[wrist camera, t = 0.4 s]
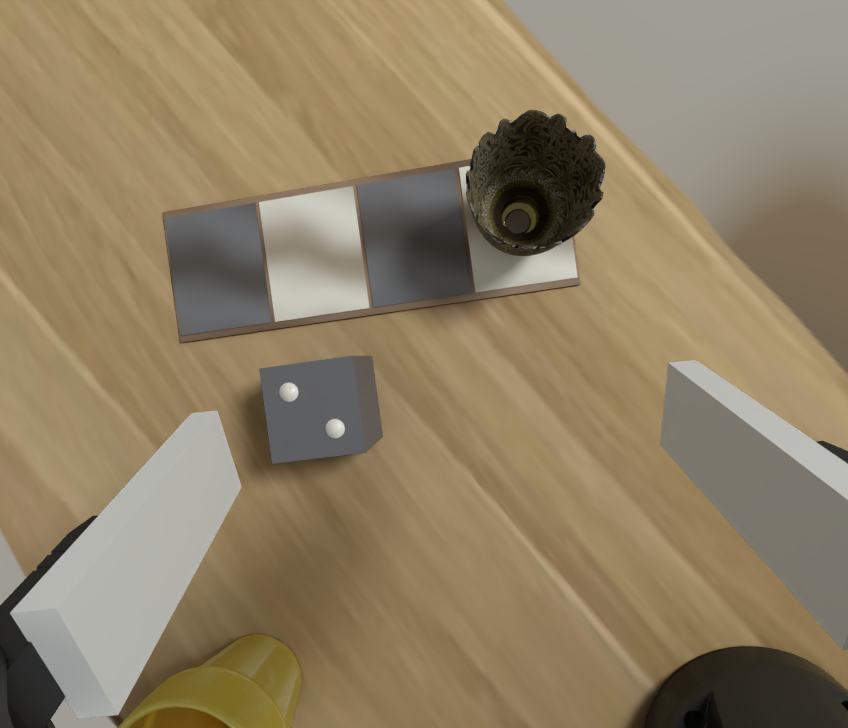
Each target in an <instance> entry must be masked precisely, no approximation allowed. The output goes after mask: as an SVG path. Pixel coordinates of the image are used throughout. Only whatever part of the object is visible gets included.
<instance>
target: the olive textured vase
mask: <svg viewBox="0 0 848 728" xmlns="http://www.w3.org/2000/svg"><path fill="white" fill-rule="evenodd" d="M509 121H510V120H508V119H503V120H501V121H500V123H499V126H498V130H497V132H496V134H495V135H494V134H493V133H491V132H487V133H486V134H484V135H483V136H482V138H481V140H480V141H479V146H477V147H476V148H475V149H474V151H473V155H472V159H471V162H470V170H467V172H466V185H467V190H466V197H467V201H468V204H469V207H470V209H471V212H472V215H473V218H474V221H475V223H476V225H477V227H478V229H479V231H480V233H481V234H482V236H483V237H484V238H485V239H486V240H487V241H488V242H489V243H490V244H491V245H492V246H493V247H495V248H496V249H498V250H500V251H502V252H504V253H507V254H510V255H515V256H531V255H537V254H540V253H543V252H546V251H548V250H550V249H552V248H554V247H556V246H558V245H560V244H562V243H563V242H565V241H567V240H569V239H570V238H572V237H573V236H574V235H576V234H577V233H578V232H579V231H581V230H582V229H583V228H584V226H586V225H587V224H588V222H589V221H590V220H591V219H592V217H593V216H594V210H593V209H594V207H595V206H596V205H597V204H598V203H599V202H600V200H601V199H602V197H603V192H601V190H600V186H601V183H602V181H603V178H604V174H605V162H604V160H603V159H602V157H601V156H600V155H599V154H598V153H596V151H595V148H596V143H595V139H594V137H593V136H591V135H589V134H588V135H585V136H582V137H581V138H583V139H581V138H579V137H578V136H577V134H576V132H575V131H573V130H569V129H568V128H566V122H567V119H566V118H565V117H564V116H563V115H561V114H555V115H554V116H552V117H551V118H550V117H548V116H547V115H546V114H545V113H543V112H541V111H537V110H529V111H527V112H525V113H524V114H522V115H521V116H519V117H518V118H517V119H516V120H514V121H513V122H511V123H510V122H509ZM516 210H521V211H524V212H525V213H526V214H527V215H528V216H529V219H530V223H529V227H528V228H527V229H526V230H525V231H524V232H522V233H513V232H511V231H510V230H509V229H508V227H507V224H506V220H507V217H508V215H509V214H510V213H511V212H513V211H516Z"/></svg>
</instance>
